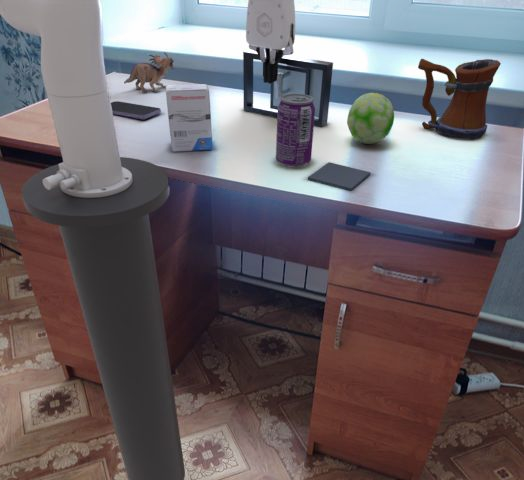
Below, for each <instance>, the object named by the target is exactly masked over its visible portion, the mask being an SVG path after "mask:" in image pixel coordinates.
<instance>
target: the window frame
mask: <svg viewBox="0 0 524 480" xmlns="http://www.w3.org/2000/svg"><path fill="white" fill-rule="evenodd" d="M242 59H243V60H242V63H243V64H242V68H243V69H242V70H243V72H242V74H243V75H242V77H243V81H242V82H243V111H244V112H248V113H253V114H258V115H263V116H267V117H272V118H276V119H277V113H278V110H275V109H270V106H267V105H263V104H257V103H254V60H256V61H261V58H260V56H259V55H258V53H257V52H255V51H253V50H251V49H247V50H245V51H243V52H242ZM278 64H282V65H288V66H294V67H300V68H306V69H311V72H310V85H309V96H311V97H313V104H314V107H315V117H314V127H319V128H323V127H325V126H326V125H327V124H328V119H329V108H330V99H331V87H332V79H333V78H332V77H333V69H334V62H332V61H325V60H318V59H312V58H306V57H299V56H295V55H287V56H283V57H282V58H281V60H280V61H279V62H278Z"/></svg>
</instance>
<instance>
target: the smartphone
mask: <svg viewBox="0 0 524 480" xmlns="http://www.w3.org/2000/svg"><path fill="white" fill-rule="evenodd" d="M111 107H112V113H113V115H116V116H117V115H118V116H123V117H129V118H134V119H137V120H138V119H139V120H142V121H143V120H147V119H148V118H151V117H153V116H155V115H158V114H161V113H162V109H161V108H160V107H155V106H149V105H144V104H138V103H131V102H125V101H117V100H116V101H112V102H111Z"/></svg>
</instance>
